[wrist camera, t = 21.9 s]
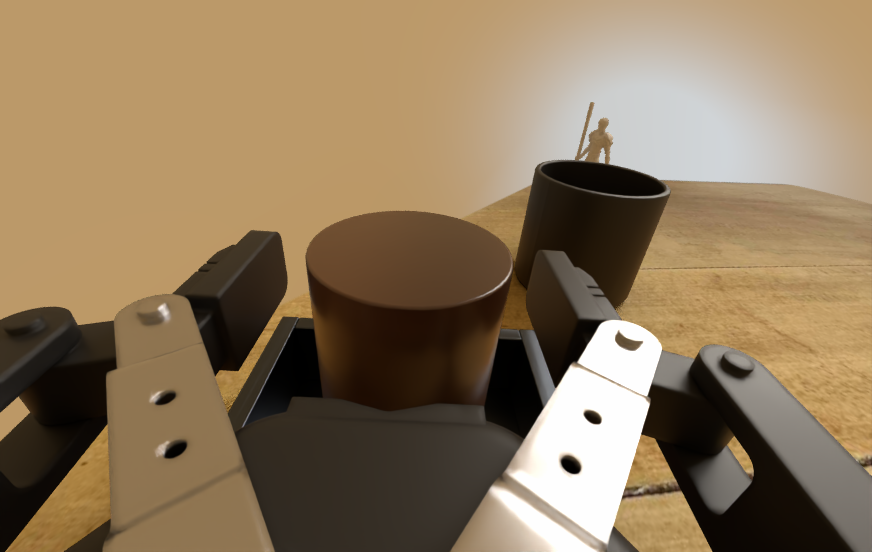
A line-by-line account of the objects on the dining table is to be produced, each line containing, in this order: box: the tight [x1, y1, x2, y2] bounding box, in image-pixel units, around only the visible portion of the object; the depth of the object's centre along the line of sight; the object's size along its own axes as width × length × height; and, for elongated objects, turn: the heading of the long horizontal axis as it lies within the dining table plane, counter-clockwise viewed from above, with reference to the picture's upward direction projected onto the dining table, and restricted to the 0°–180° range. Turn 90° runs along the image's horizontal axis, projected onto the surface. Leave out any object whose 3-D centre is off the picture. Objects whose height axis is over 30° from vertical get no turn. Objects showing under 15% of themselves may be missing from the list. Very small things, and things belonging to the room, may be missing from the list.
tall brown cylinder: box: [306, 211, 513, 411], centre depth 12 cm, size 5×5×11 cm
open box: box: [228, 317, 556, 439], centre depth 14 cm, size 13×13×4 cm
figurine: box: [575, 102, 613, 164], centre depth 48 cm, size 5×5×12 cm
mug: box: [515, 160, 671, 307], centre depth 31 cm, size 9×12×9 cm
